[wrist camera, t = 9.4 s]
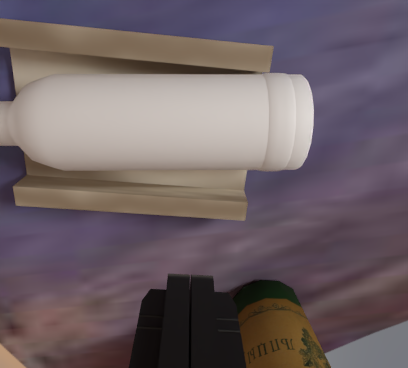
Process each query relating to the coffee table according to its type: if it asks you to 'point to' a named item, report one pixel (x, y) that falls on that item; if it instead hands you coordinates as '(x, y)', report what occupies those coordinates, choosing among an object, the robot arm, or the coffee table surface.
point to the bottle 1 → (162, 121)
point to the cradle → (128, 64)
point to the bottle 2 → (276, 328)
